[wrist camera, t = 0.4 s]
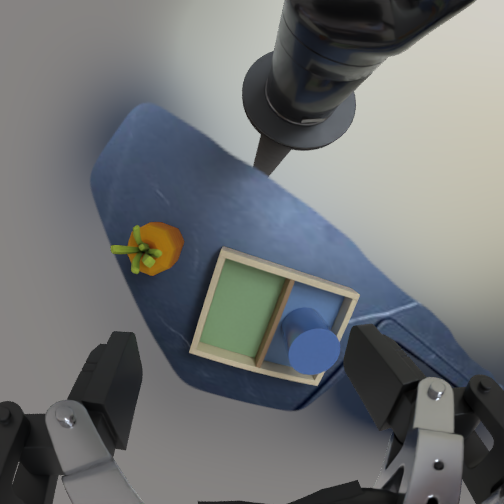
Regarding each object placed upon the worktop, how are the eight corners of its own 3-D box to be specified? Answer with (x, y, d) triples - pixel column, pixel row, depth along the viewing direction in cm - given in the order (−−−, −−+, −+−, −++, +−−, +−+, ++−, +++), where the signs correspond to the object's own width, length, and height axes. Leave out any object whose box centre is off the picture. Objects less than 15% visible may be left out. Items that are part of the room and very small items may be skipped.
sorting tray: (222, 245, 36) (221, 249, 33) (351, 288, 37) (360, 294, 34) (192, 342, 38) (189, 352, 34) (312, 374, 39) (317, 386, 36)
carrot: (149, 239, 35) (93, 259, 20) (174, 210, 35) (128, 212, 20) (177, 265, 36) (136, 302, 21) (202, 237, 35) (175, 257, 21)
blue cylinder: (290, 301, 36) (300, 322, 29) (331, 313, 37) (348, 335, 30) (273, 342, 37) (280, 368, 30) (314, 352, 37) (327, 379, 31)
